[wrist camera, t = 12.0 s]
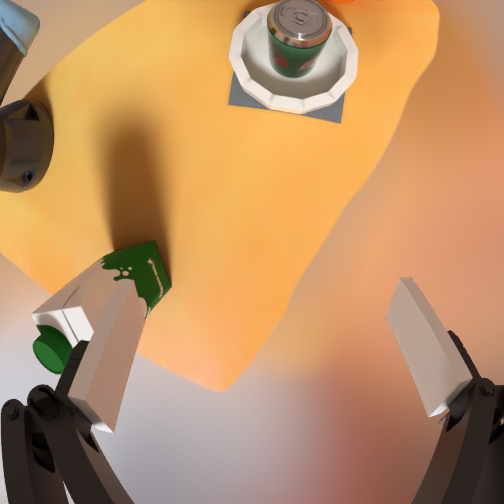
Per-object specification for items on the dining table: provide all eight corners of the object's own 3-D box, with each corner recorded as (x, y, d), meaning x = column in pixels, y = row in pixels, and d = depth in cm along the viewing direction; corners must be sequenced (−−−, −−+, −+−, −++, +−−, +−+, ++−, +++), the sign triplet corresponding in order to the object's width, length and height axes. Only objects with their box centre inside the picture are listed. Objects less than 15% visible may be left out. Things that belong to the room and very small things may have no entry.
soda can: (304, 86, 28) (320, 55, 17) (261, 68, 27) (255, 29, 16) (321, 51, 26) (344, 8, 15) (279, 34, 26) (282, -16, 14)
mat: (228, 104, 30) (228, 104, 30) (245, 12, 26) (244, 11, 25) (339, 123, 30) (340, 123, 30) (351, 30, 26) (351, 28, 25)
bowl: (227, 105, 30) (221, 99, 26) (244, 10, 25) (240, -4, 22) (341, 124, 30) (350, 121, 26) (352, 28, 25) (361, 16, 21)
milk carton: (106, 246, 38) (12, 319, 19) (159, 232, 36) (69, 311, 18) (128, 300, 41) (57, 390, 22) (180, 291, 39) (120, 397, 21)
